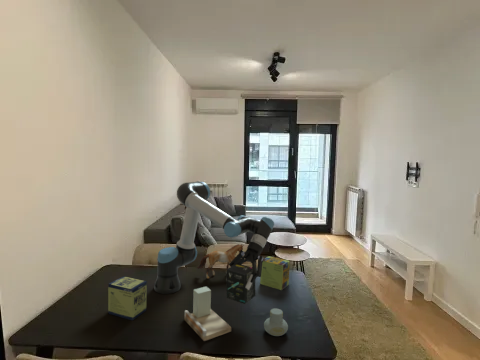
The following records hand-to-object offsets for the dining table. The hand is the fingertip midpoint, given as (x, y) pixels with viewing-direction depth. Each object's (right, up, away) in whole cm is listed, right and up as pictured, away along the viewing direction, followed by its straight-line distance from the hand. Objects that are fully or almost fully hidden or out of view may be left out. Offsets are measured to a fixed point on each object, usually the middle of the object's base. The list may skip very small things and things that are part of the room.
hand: (237, 284), depth 143 cm
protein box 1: (-55, -17, +8) cm, 58 cm away
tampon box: (+2, -7, +3) cm, 8 cm away
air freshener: (+18, -20, -5) cm, 27 cm away
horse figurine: (-12, -14, +59) cm, 62 cm away
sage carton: (-18, -16, +5) cm, 24 cm away
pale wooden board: (-14, -18, -2) cm, 23 cm away
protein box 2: (+23, -16, +46) cm, 54 cm away
